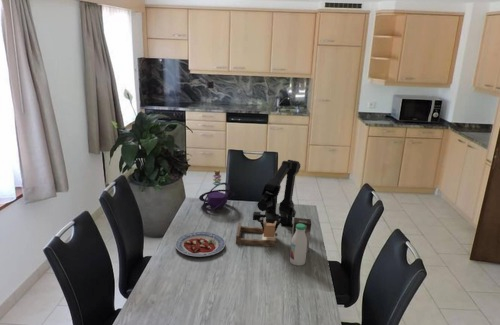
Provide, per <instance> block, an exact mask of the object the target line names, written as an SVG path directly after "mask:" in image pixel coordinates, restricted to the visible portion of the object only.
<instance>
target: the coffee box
mask: <svg viewBox="0 0 500 325" xmlns="http://www.w3.org/2000/svg"><path fill="white" fill-rule="evenodd" d="M299 223H301V224H304V225H305V226H306V228H305V235H306V238H307V250H306V253H307V252H309V247H310V239H311V238H310V237H311V230H312V220H311V218H303V217H296V216H295V217H293V220H292V229H291V230H292V231H291V232H292V234H291V238H292V237H293V235H294V234H295V232H296V224H299ZM291 242H292V239H291V241H290V243H291Z"/></svg>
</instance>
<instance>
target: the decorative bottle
mask: <svg viewBox="0 0 500 325" xmlns="http://www.w3.org/2000/svg"><path fill="white" fill-rule="evenodd" d="M220 172H221V170H218V169H216V170H214V175H213V176H212V177H213V178H212V180H213V182H212V185H214V187H212V188H211V189H210V190H208V191H206V192H205V193H204V192H203V193H202V194H201V195H200V196H199V197H198V200H200V202H201V201H202V202H203V208H204V210H205V211H208V212H210V211H214V210H219V209H221V208H223V207H224V206H225V205H227V203H228V200H229V199H231V198H233V197H234V196H235V192H234V191H233V190H230V189H231V188H230V184H229V183H227V182H222V175H221V174H220ZM222 185H225V186H226V187H227V189H216V188H217V187H219V186H222ZM204 197H205V198H204ZM206 204H207V205H208V206H209V207H210V208H209V207H207V206H206Z"/></svg>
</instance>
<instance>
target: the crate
mask: <svg viewBox="0 0 500 325" xmlns="http://www.w3.org/2000/svg"><path fill="white" fill-rule="evenodd" d="M275 225H276V222H275V223H273V224H272V223H266V219H264V237H274V238H275V239H276V232H275Z"/></svg>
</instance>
